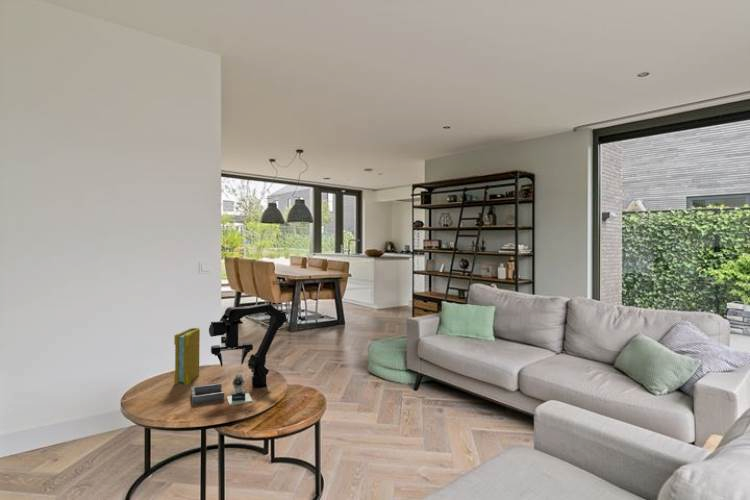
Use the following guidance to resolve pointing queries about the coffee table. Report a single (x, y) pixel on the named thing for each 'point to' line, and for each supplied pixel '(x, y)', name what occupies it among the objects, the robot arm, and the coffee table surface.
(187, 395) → the coffee table surface
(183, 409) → the coffee table surface
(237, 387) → the watch
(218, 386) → the grey u-shaped piece
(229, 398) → the pad
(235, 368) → the coffee table surface
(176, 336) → the book
